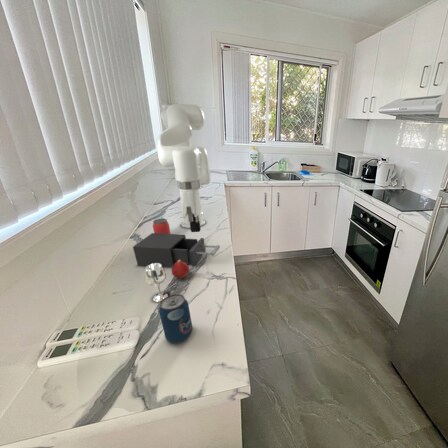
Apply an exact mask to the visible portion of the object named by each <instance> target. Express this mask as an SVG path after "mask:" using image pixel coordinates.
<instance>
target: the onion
mask: <svg viewBox="0 0 448 448" xmlns="http://www.w3.org/2000/svg"><path fill="white" fill-rule="evenodd" d="M189 272H190V267H189V264H186V263H185V262H182V261H181V260H178V261H177V262H176V263H175V264H174V265H173V267H171V274H172V276H173V277H174V278H177V279H184V278H185V277H186V276H188V274H189Z"/></svg>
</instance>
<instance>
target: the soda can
mask: <svg viewBox="0 0 448 448" xmlns="http://www.w3.org/2000/svg"><path fill="white" fill-rule="evenodd" d="M158 313H159V317H160V321H161V325H162V329H163V334H164V338H165V340H166V341H167V342H169V343H171V344H177V345H178V344H180V343H181V344H182V343H184V342H185V341H187V340H188V339H189V338H190V336H191V334H192V333H193V330H194V329H193V322H192V317H191V312H190V306H189V301H188V300H187V299H186V298H185V296H184V295H182V294H178V293H177V294H176V293H175V294H171V295H168V297H166V298H165V299H163V300H162V301H160V305H159V308H158Z"/></svg>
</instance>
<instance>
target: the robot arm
mask: <svg viewBox="0 0 448 448" xmlns="http://www.w3.org/2000/svg"><path fill="white" fill-rule="evenodd" d="M160 119H161V122H162V124H163V125H164V128H165V129H164V130H163V131H162V132H161V133H160V134H159V135H158V137H157V140H156V149H157V157H158V161H159V163H160V165H161V166H163V167H165V168H174V173H173V174H174V181H175V183H176V186H177V191H178V194H179V201H180V207H181V208H180V209H181V217H182V219H183V220H182V221H181V222H180V225H181V227H182V228H185V229H190V232H191V233H199V232H201V227H202V226H204V225H205V224H206V220H205V219H203V217H202V216H203V215H204V213H203V211H202V202H201V196H200V191H199V190H200V189H201V188H202V186H207V185H209V184H210V183H211V172H210V163H209V155H208V151H207V150H206V148H205V147H203V146H195V145H192V143H191V138H192V136H193V131H201V130H202V129H203V128H204V125H205V114H204V112H203V109H202V108H201V106H199V105H196V104H185V103H173V104H169V105H168V106H167V108H166V109H164V110H162V111H161V112H160Z"/></svg>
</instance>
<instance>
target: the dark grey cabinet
mask: <svg viewBox="0 0 448 448" xmlns="http://www.w3.org/2000/svg"><path fill="white" fill-rule="evenodd" d="M183 238H184V239H187V238H186V234H182V233H181V234H179V233H171V234H160V233H154V232H151V233H150V234H149V235H147V236H146V237H144V238H143V239H141V241H139V242H138V243H136V244H134V245H133V246H132V249H133V253H134V257H135V260H136V264H137V266H138V267H147V266H148V265H150V264H154V263H160V264H161V265H162V266H163V268H172V267H173V265H174V264H175V263H174V260H173V255H172V250H171V249H173V248H174V247H175V246H176V245H177V244H178V243H179V242H180V241H181V240H182V239H183Z"/></svg>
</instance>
